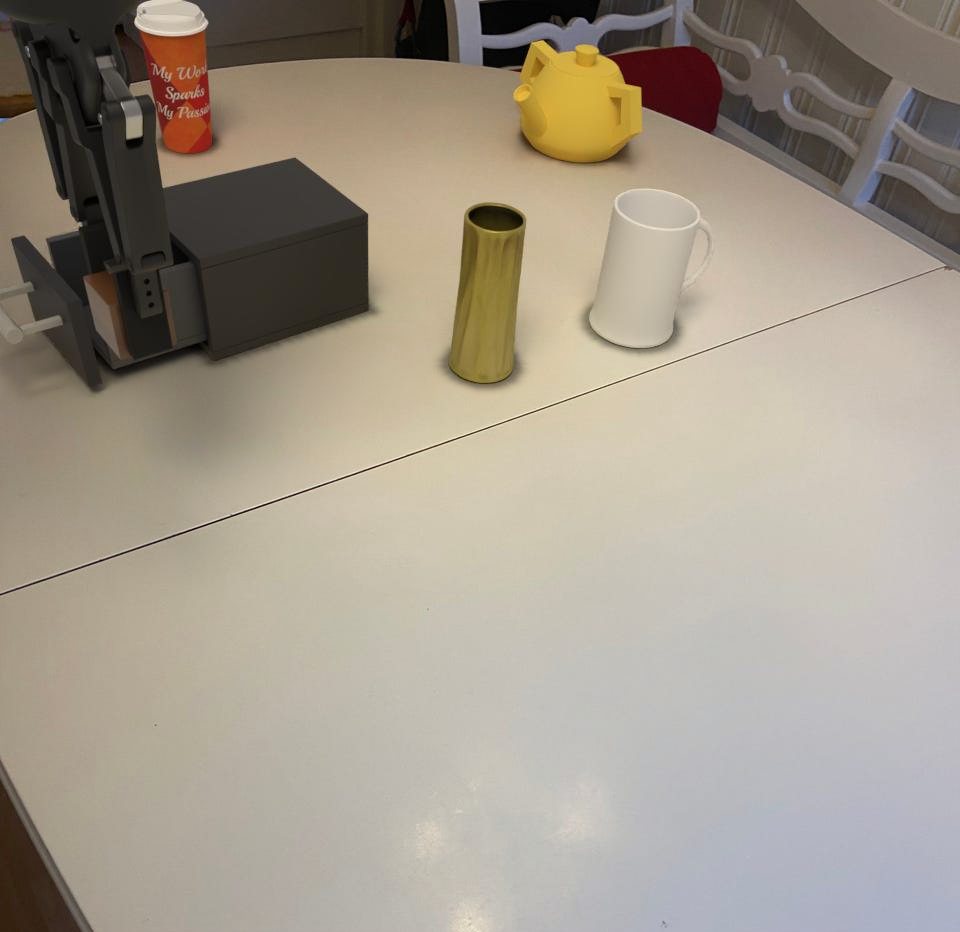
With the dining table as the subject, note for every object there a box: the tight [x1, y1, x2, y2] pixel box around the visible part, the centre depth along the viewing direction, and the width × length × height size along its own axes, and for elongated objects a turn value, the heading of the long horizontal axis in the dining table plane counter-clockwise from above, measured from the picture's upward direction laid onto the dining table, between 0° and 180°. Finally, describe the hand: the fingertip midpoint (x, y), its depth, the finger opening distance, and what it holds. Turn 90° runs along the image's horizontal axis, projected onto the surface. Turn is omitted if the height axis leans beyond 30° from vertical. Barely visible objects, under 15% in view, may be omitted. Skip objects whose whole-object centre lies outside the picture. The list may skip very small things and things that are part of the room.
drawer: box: [0, 230, 207, 388], centre depth 84 cm, size 20×12×8 cm, turn 128°
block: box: [83, 271, 177, 360], centre depth 63 cm, size 4×4×4 cm
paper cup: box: [134, 0, 213, 154], centre depth 109 cm, size 8×8×14 cm
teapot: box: [513, 39, 643, 164], centre depth 119 cm, size 20×18×11 cm
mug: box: [588, 187, 716, 349], centre depth 93 cm, size 12×8×12 cm
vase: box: [448, 201, 527, 384], centre depth 85 cm, size 6×6×14 cm
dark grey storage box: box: [163, 157, 370, 362], centre depth 90 cm, size 17×13×10 cm
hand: (135, 333), depth 65 cm, fingers closed on block, 4 cm apart
